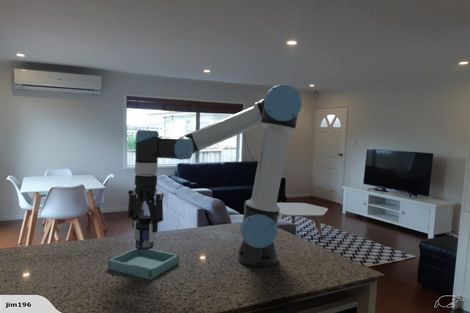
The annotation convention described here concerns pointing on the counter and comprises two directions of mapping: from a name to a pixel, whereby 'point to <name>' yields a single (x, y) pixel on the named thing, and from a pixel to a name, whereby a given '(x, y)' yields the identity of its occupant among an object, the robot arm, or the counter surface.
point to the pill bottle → (143, 233)
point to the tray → (143, 262)
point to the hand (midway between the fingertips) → (144, 239)
